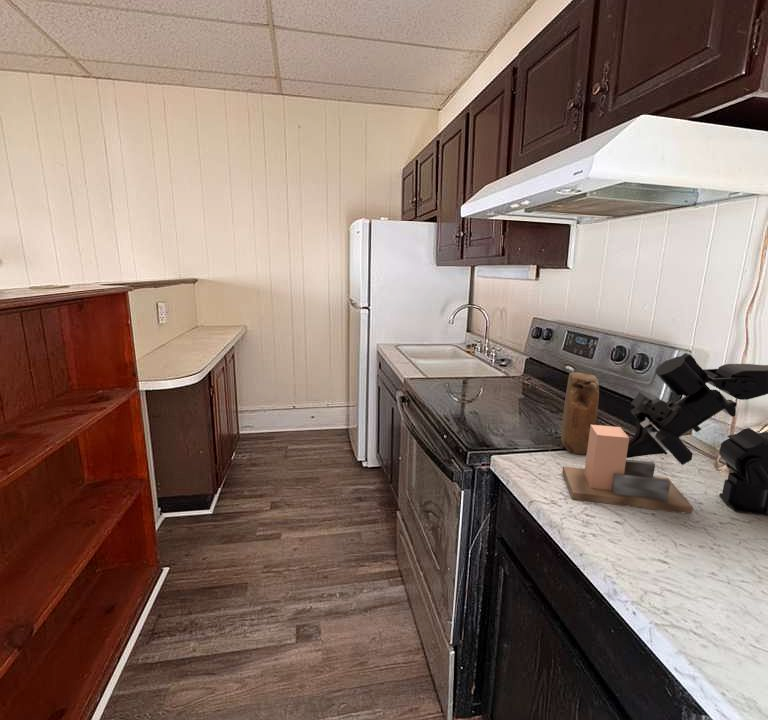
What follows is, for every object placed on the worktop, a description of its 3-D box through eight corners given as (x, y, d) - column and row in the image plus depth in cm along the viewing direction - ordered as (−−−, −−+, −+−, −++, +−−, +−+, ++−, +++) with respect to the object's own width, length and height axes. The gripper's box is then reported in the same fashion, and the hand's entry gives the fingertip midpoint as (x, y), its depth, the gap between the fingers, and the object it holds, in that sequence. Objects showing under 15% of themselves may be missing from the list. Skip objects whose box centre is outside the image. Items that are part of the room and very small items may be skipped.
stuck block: (613, 477, 94) (620, 427, 91) (621, 491, 88) (629, 437, 85) (584, 474, 95) (590, 424, 92) (590, 487, 89) (597, 434, 87)
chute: (666, 484, 94) (670, 461, 93) (691, 513, 83) (696, 488, 82) (562, 472, 99) (564, 450, 98) (572, 498, 88) (575, 474, 87)
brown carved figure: (559, 438, 119) (567, 369, 115) (588, 441, 117) (597, 372, 112) (562, 453, 109) (570, 379, 105) (593, 458, 107) (603, 382, 102)
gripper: (646, 371, 93) (587, 413, 98) (684, 395, 76) (609, 445, 81) (680, 408, 93) (619, 448, 98) (726, 440, 76) (648, 488, 81)
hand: (622, 455), depth 89 cm, fingers closed, pressing on stuck block
